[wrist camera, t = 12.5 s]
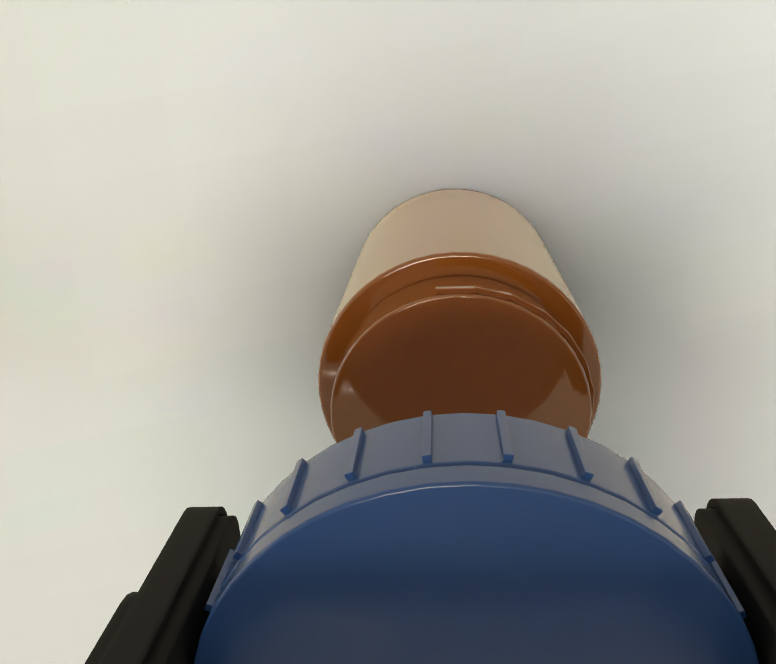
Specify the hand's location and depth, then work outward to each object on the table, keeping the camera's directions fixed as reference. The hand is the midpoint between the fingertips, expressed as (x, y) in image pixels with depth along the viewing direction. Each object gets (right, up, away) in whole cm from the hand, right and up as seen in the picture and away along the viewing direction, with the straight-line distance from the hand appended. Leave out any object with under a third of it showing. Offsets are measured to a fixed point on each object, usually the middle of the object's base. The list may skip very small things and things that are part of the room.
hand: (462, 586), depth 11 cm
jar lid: (0, -1, -2) cm, 2 cm away
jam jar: (+1, +5, +13) cm, 14 cm away
